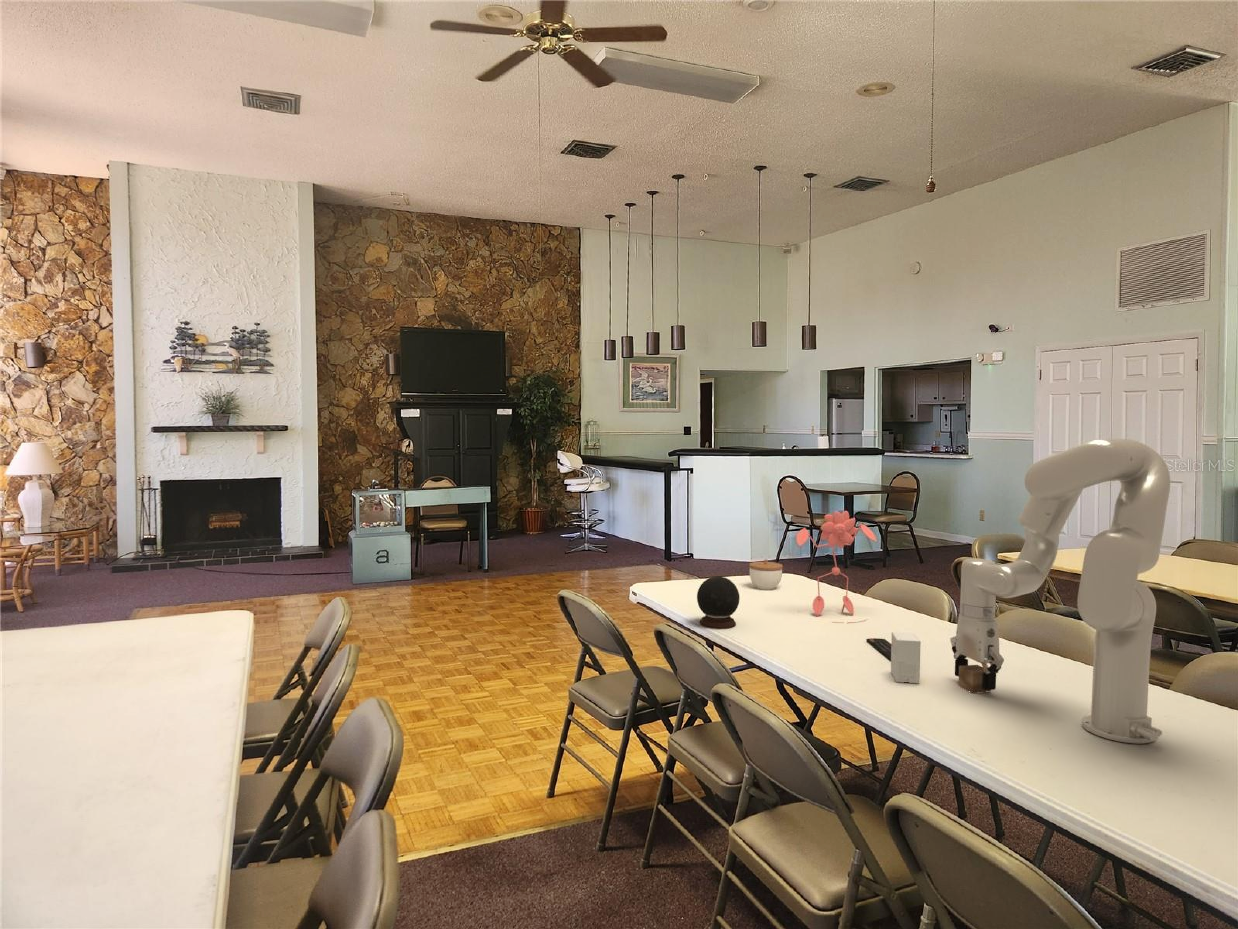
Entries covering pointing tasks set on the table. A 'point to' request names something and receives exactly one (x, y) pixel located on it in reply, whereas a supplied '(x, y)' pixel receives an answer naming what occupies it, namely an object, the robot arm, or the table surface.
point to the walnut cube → (971, 678)
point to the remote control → (881, 646)
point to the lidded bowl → (765, 574)
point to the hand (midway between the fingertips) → (974, 682)
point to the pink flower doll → (837, 534)
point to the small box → (905, 657)
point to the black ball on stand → (718, 602)
